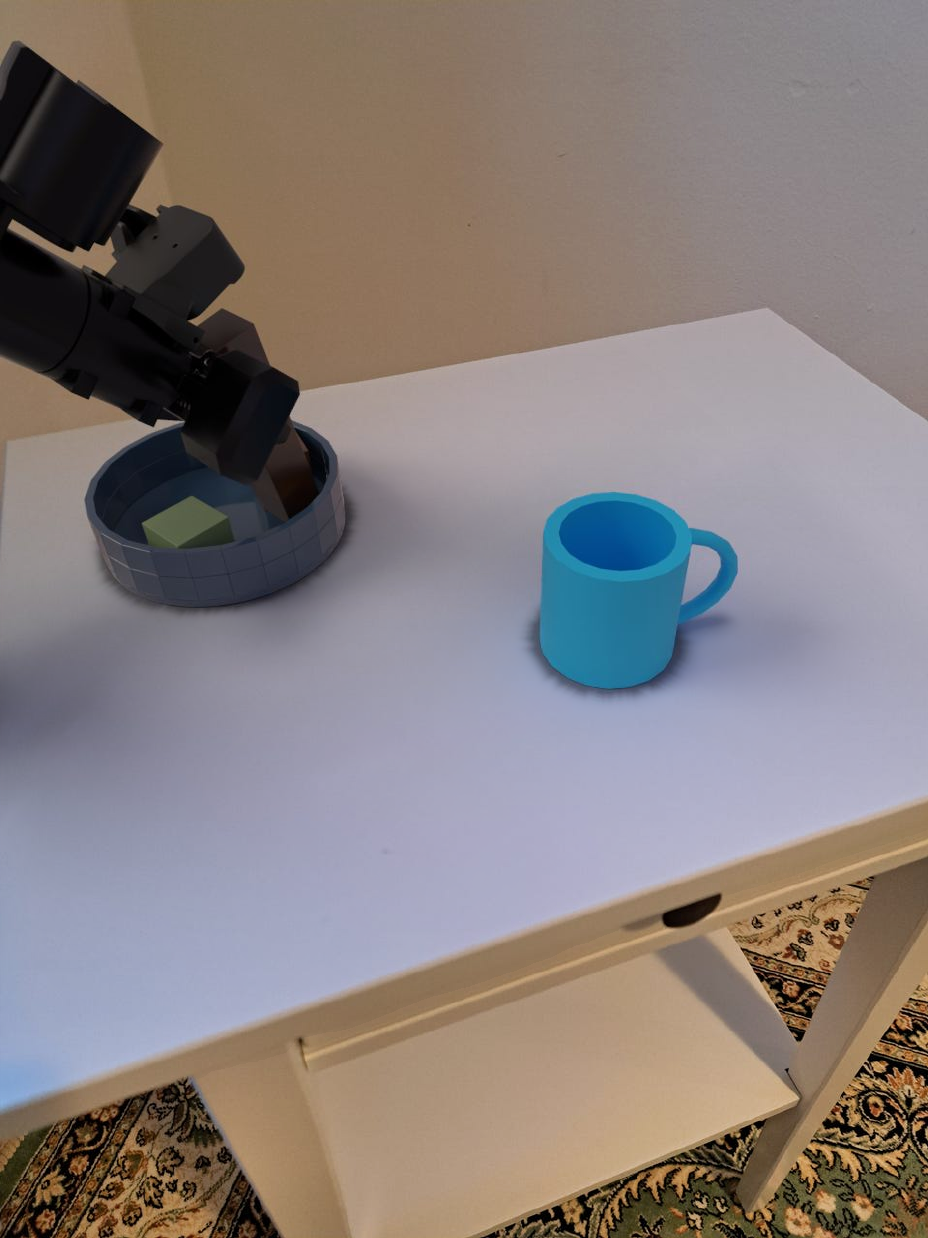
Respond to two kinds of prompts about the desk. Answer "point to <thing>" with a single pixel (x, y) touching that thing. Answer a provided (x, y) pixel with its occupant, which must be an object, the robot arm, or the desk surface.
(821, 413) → the desk surface
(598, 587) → the mug
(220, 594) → the bowl
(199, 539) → the sage cube
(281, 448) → the stick
